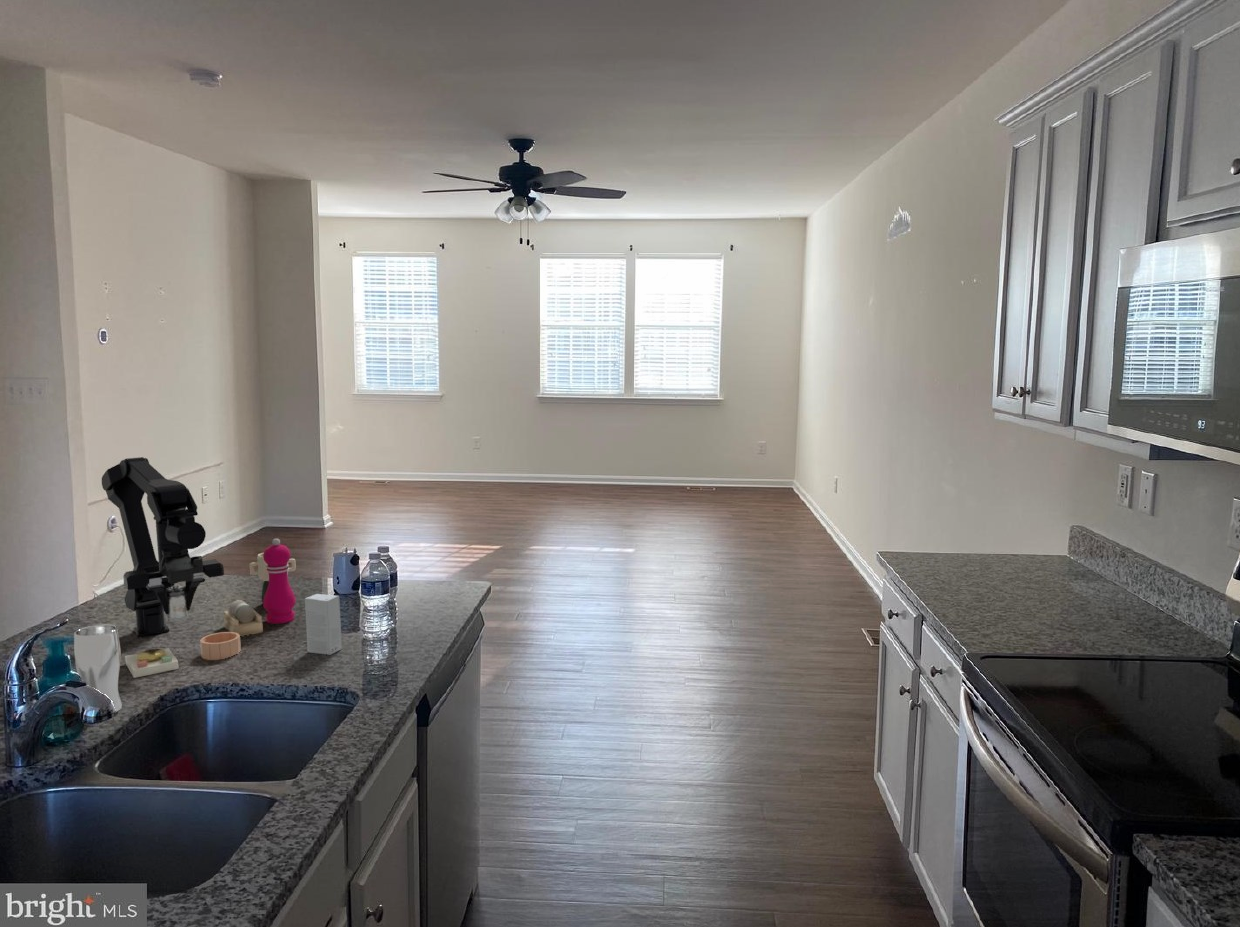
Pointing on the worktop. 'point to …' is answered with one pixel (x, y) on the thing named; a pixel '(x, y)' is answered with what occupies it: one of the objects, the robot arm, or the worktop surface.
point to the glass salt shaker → (176, 603)
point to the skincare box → (323, 624)
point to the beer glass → (99, 659)
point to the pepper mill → (278, 585)
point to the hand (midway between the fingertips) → (177, 612)
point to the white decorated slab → (151, 664)
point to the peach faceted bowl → (220, 645)
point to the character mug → (263, 573)
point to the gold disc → (151, 655)
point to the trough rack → (242, 619)
